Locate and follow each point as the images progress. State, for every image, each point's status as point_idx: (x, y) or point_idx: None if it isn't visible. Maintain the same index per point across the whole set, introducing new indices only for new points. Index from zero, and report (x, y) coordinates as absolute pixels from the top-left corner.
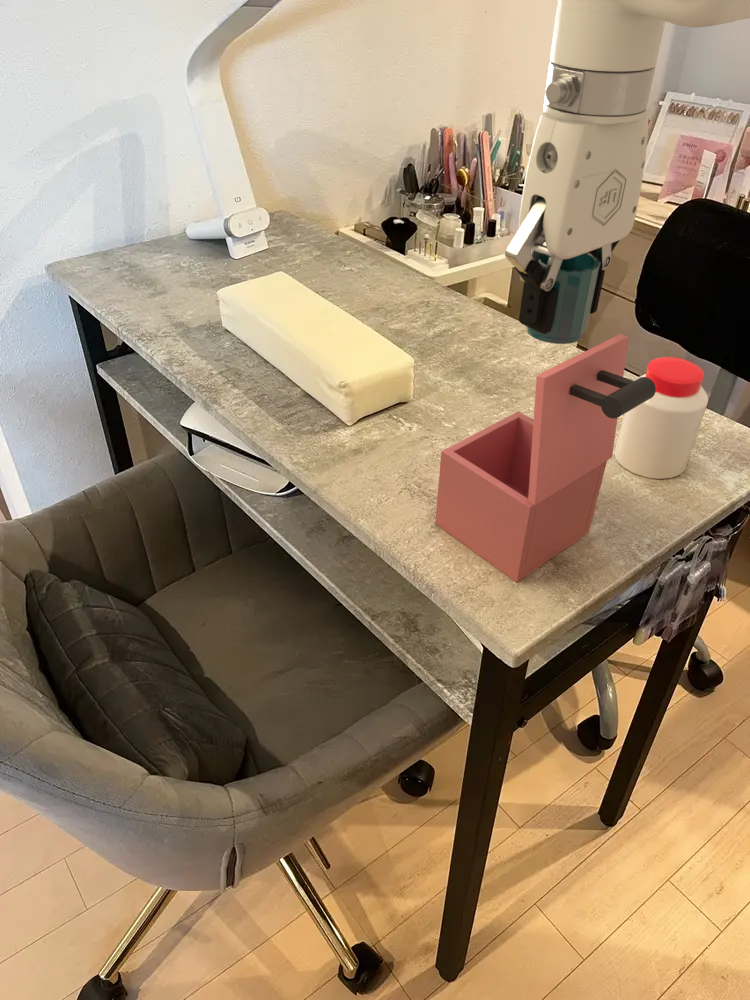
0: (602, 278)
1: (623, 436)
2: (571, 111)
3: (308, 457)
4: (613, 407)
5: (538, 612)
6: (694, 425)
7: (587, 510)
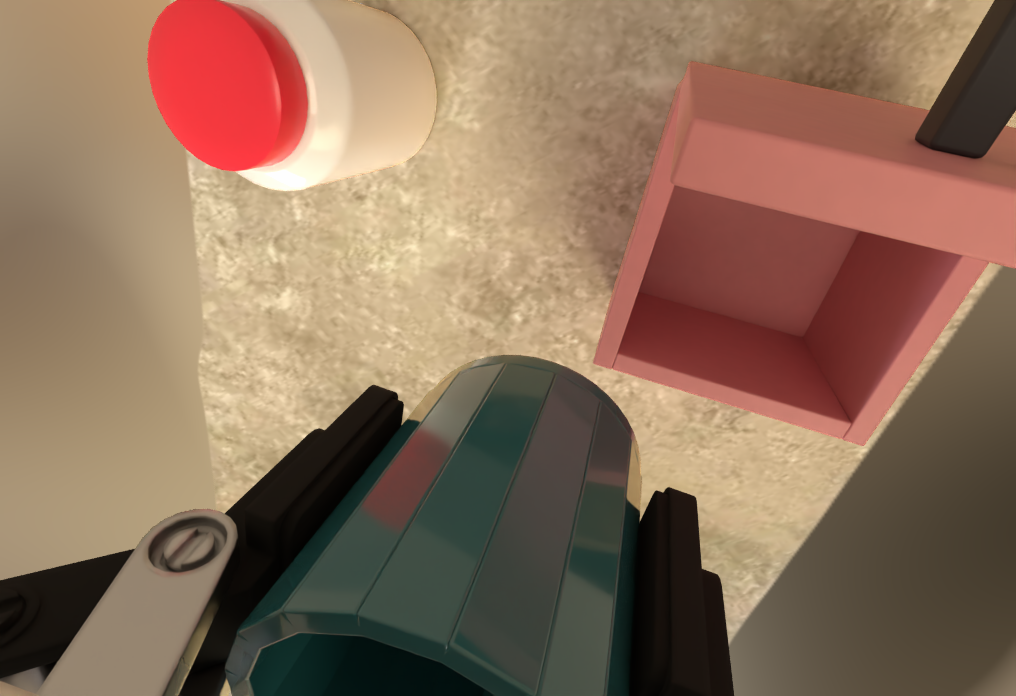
0: (282, 483)
1: (395, 151)
2: None
3: (735, 573)
4: None
5: None
6: None
7: None
